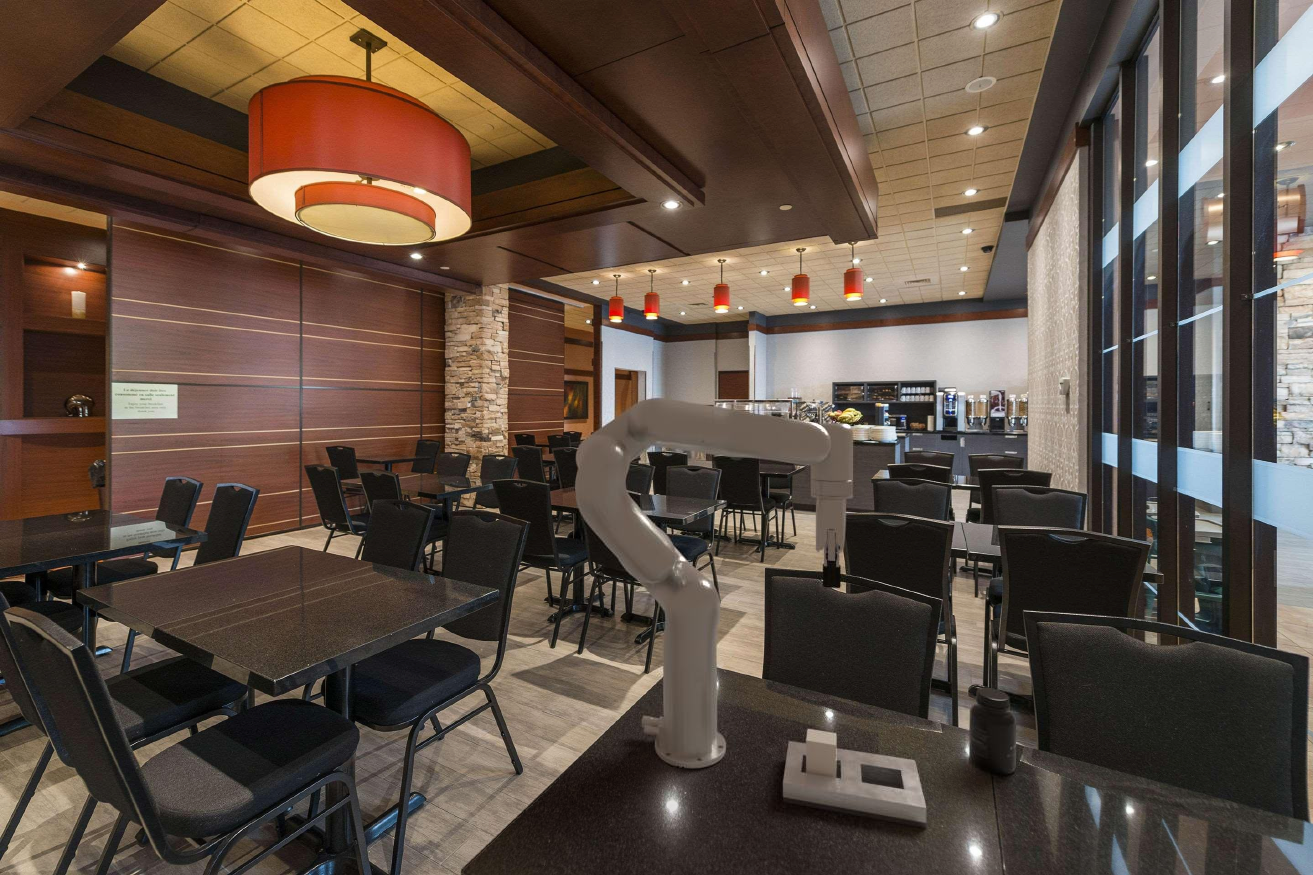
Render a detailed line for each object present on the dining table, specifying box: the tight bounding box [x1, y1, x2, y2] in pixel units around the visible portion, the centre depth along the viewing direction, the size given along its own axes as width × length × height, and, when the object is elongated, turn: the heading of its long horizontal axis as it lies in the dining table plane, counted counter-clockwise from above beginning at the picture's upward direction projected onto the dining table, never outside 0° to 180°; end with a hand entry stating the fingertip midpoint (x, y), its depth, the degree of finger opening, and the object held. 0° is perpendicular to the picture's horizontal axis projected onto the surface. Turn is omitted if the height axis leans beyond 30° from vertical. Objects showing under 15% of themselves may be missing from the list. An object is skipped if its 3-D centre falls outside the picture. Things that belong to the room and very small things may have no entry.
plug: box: [805, 728, 837, 778], centre depth 92 cm, size 4×4×7 cm
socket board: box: [782, 740, 927, 829], centre depth 91 cm, size 20×12×3 cm, turn 73°
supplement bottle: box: [968, 687, 1017, 776], centre depth 97 cm, size 7×7×12 cm
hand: (831, 586), depth 108 cm, fingers closed
